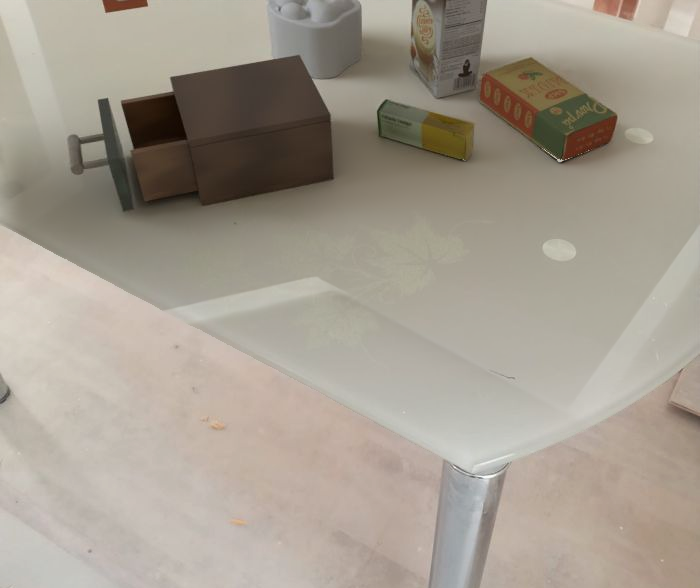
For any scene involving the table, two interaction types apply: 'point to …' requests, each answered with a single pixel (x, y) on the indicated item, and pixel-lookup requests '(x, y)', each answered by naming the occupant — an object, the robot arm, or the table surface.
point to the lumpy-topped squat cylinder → (317, 33)
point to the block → (123, 5)
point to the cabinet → (254, 128)
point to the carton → (547, 108)
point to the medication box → (426, 129)
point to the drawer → (142, 148)
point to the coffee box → (447, 44)
